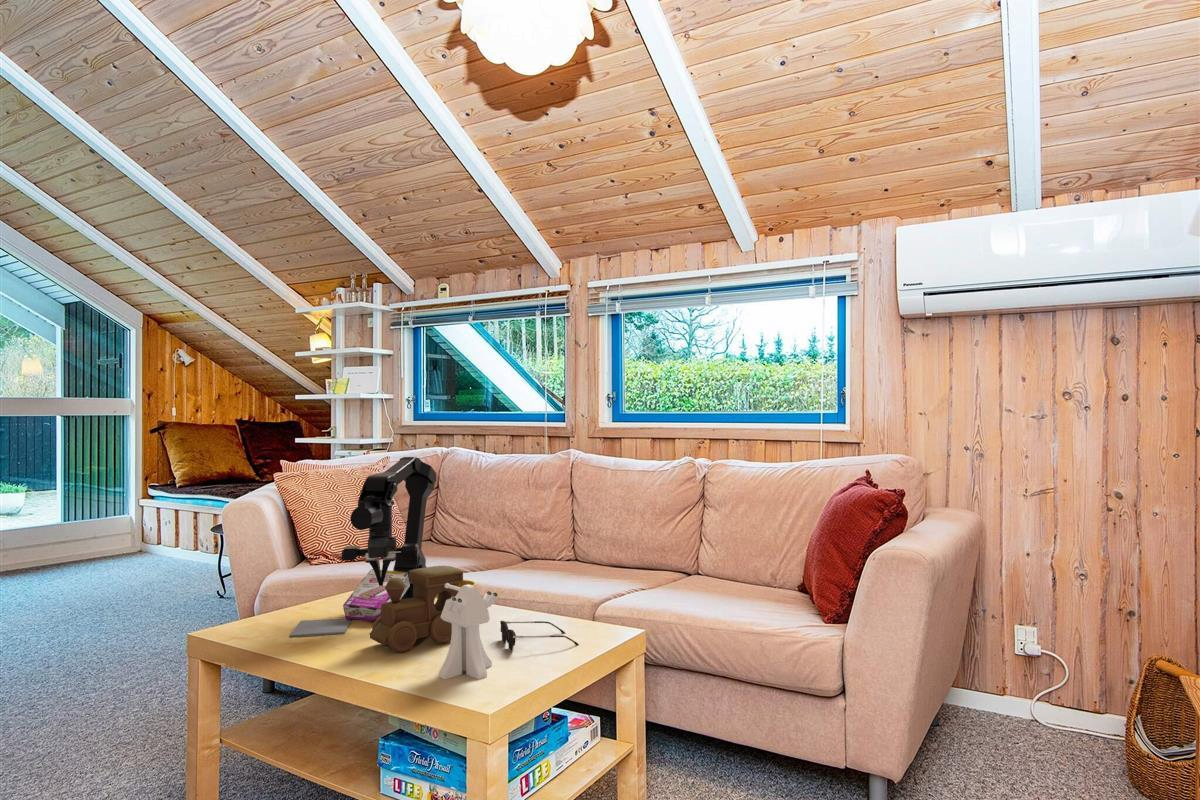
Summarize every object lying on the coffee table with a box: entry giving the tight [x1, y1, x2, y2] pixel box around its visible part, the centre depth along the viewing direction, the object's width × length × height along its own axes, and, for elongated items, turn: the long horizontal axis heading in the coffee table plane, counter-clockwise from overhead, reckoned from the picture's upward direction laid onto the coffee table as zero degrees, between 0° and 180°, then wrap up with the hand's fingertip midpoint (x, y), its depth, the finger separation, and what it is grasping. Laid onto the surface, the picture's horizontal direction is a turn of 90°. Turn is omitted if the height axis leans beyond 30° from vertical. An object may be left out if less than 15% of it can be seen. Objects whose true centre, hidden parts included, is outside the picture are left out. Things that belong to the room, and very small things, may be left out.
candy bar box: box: [342, 568, 410, 624], centre depth 213 cm, size 11×5×16 cm
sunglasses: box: [499, 620, 580, 653], centre depth 187 cm, size 14×16×5 cm
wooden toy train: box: [369, 565, 464, 653], centre depth 188 cm, size 20×11×17 cm, turn 129°
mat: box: [288, 617, 353, 638], centre depth 202 cm, size 13×14×1 cm
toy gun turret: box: [438, 583, 499, 680], centre depth 167 cm, size 12×13×18 cm
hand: (381, 585), depth 205 cm, fingers closed
